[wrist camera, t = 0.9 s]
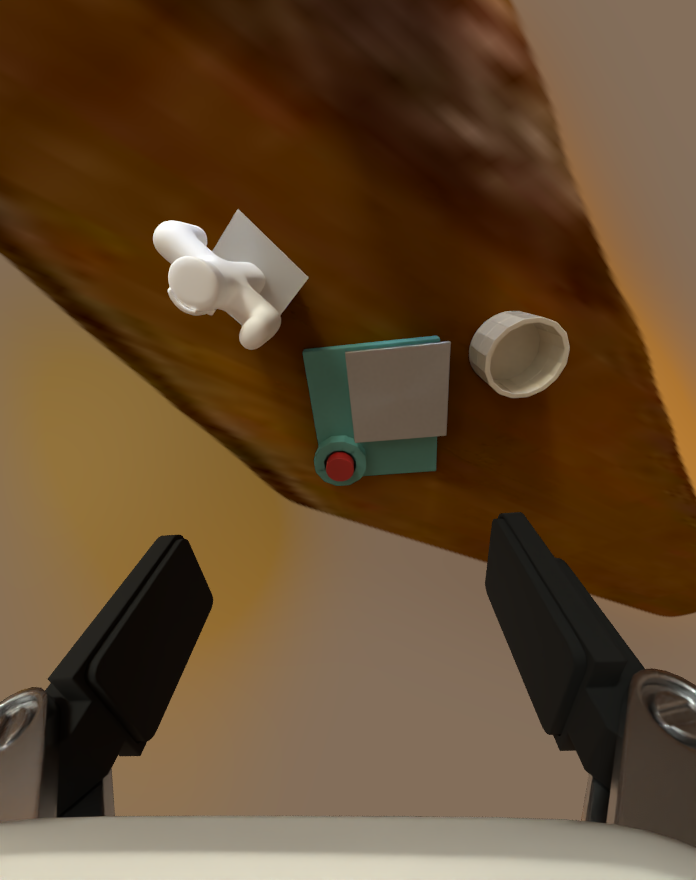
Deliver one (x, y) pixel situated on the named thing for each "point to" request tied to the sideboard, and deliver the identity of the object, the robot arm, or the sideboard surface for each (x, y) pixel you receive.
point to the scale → (337, 424)
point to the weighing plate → (399, 391)
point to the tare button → (340, 466)
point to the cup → (519, 353)
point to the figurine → (230, 275)
